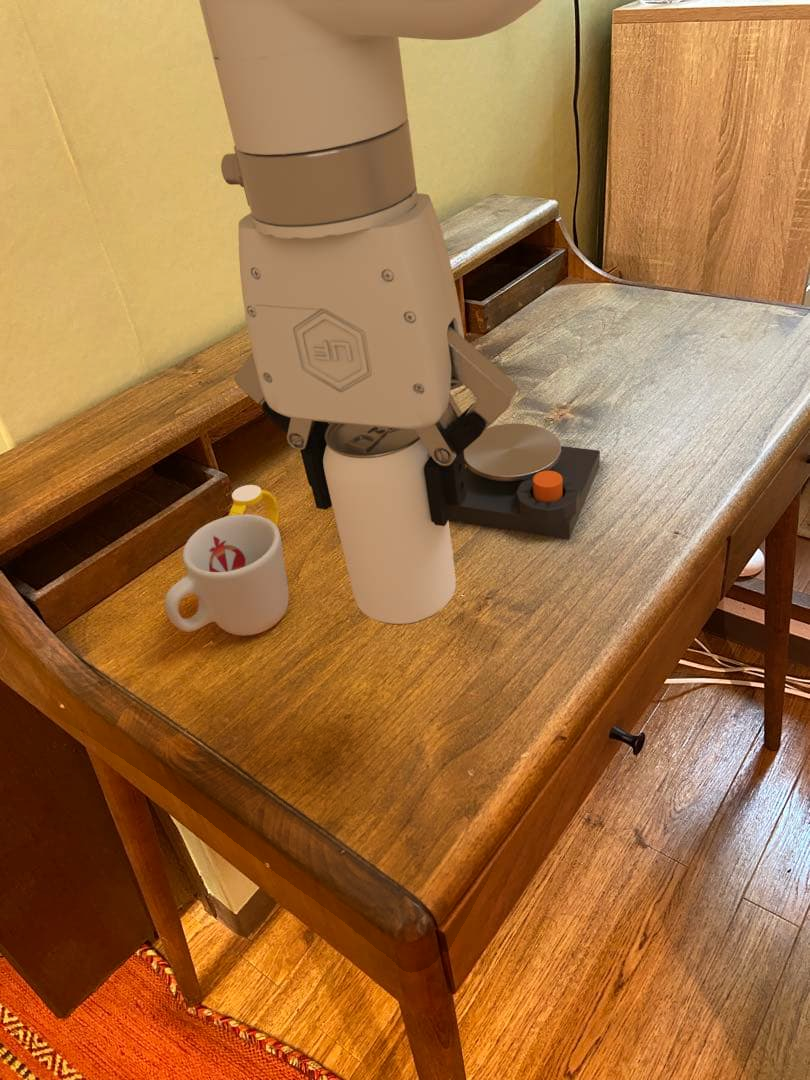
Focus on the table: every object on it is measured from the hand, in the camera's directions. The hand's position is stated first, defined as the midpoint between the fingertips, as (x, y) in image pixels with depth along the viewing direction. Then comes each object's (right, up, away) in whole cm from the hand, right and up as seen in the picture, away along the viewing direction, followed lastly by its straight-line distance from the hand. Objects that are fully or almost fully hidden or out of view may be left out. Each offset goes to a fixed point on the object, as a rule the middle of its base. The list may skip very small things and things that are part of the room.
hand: (389, 501), depth 47 cm
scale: (+13, +2, +33) cm, 35 cm away
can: (+1, -6, +4) cm, 7 cm away
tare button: (+14, +2, +27) cm, 30 cm away
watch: (-13, -3, +32) cm, 34 cm away
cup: (-13, -9, +23) cm, 28 cm away
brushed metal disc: (+11, +6, +32) cm, 35 cm away
